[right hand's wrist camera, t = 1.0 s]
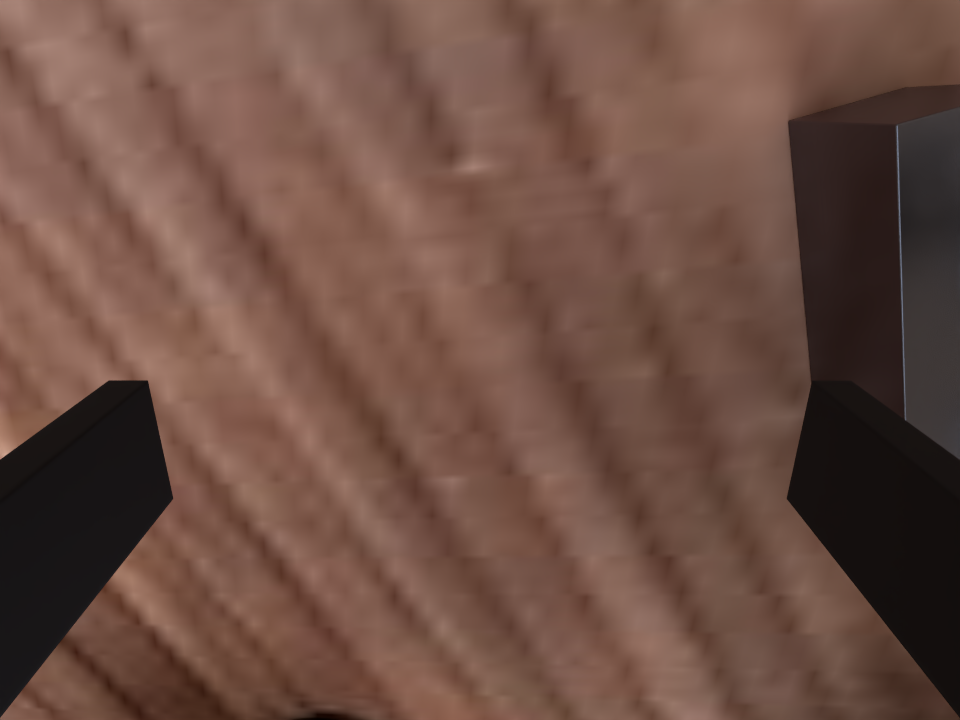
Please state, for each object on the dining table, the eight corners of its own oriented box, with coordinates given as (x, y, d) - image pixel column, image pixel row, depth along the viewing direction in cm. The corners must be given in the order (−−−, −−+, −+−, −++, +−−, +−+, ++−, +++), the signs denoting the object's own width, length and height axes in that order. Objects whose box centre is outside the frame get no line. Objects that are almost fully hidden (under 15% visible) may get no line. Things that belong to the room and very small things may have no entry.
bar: (915, 483, 39) (1029, 580, 31) (822, 504, 40) (909, 605, 32) (906, 86, 31) (1060, 78, 23) (787, 120, 31) (895, 124, 23)
